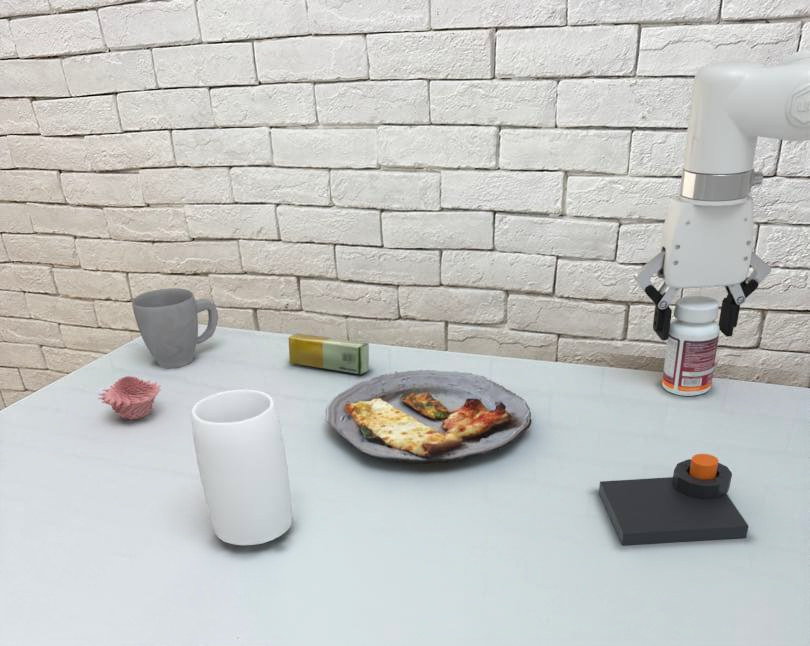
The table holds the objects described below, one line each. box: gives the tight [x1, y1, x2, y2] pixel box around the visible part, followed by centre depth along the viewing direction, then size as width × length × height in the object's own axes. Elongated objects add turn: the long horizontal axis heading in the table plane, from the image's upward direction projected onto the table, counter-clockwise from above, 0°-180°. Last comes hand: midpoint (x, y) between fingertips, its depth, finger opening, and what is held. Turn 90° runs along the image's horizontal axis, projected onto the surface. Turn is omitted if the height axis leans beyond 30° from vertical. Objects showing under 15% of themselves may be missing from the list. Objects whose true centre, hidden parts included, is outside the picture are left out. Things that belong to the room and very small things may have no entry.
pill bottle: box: [661, 295, 721, 397], centre depth 108 cm, size 6×6×11 cm
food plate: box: [324, 369, 532, 464], centre depth 104 cm, size 25×23×4 cm
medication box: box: [287, 332, 370, 376], centre depth 121 cm, size 12×3×4 cm, turn 65°
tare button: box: [689, 453, 719, 480], centre depth 87 cm, size 3×3×2 cm
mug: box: [131, 287, 219, 369], centre depth 126 cm, size 12×9×10 cm
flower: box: [97, 375, 162, 421], centre depth 110 cm, size 8×8×6 cm
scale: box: [598, 458, 749, 546], centre depth 86 cm, size 13×11×3 cm
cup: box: [190, 389, 293, 546], centre depth 83 cm, size 8×8×14 cm
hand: (693, 333), depth 107 cm, fingers open, 7 cm apart
